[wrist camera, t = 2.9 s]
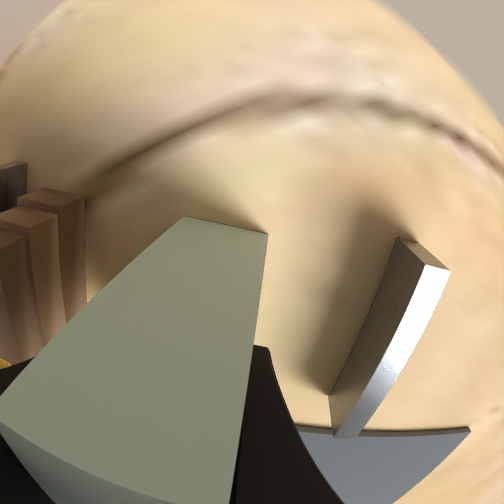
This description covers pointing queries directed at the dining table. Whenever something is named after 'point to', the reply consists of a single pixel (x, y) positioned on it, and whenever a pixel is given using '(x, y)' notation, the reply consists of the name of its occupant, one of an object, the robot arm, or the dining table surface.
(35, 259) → the offcut stack
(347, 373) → the offcut rack
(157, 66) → the dining table surface
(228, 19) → the dining table surface
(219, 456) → the tall pastel pillar
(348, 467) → the slate mat
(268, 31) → the dining table surface
